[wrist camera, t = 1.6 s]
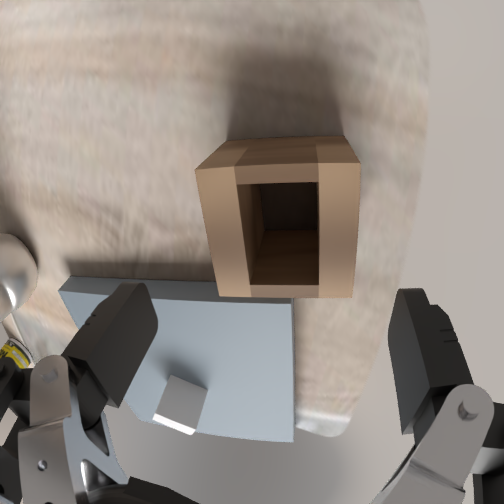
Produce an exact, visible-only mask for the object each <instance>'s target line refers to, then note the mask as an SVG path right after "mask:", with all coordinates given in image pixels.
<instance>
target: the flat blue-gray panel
mask: <svg viewBox="0 0 504 504" xmlns="http://www.w3.org/2000/svg"><path fill="white" fill-rule="evenodd" d="M122 282H140V283H144V284H145V285H146V286H147V289H148V292H149V294H150V297H151V300H152V303H153V306H154V309H155V312H156V314H157V318H158V330H157V334H156V336H155V338H154V340H153V342H152V343H151V345H150V347H149V349H148V351H147V353H146V355H145V357H144V359H143V361H142V363H141V365H140V367H139V369H138V371H137V372H136V374H135V376H134V378H133V380H132V382H131V384H130V386H129V388H128V390H127V392H126V394H125V396H124V400H125V401H126V402H127V404H128V405H129V406H130V407H131V409H132V410H133V412H134V413H135V414H136V415H137V417H138V418H139V419H140V420H142V421H146V422H150V423H155V424H159V425H163V426H168V427H171V428H174V429H176V430H179V431H182V432H184V433H187V434H190V435H192V434H193V432H199V433H206V434H212V435H219V436H227V437H234V438H243V439H253V440H264V441H279V442H293V441H294V431H295V336H294V298H268V297H226V296H219V292H218V287H217V282H203V281H168V280H140V279H117V278H96V277H77V276H70V278H69V279H68V280H67V281H66V282H65V283H64V284H63V285H62V286H61V288H60V289H59V290H58V292H59V294H60V296H61V298H62V300H63V302H64V304H65V306H66V307H67V309H68V311H69V313H70V315H71V317H72V319H73V320H74V322H75V324H76V326H77V327H78V329H80V328H81V327H82V325H84V324H85V323H84V322H85V321H86V320H87V318H88V317H89V316H91V313H92V312H93V310H94V309H95V308H96V307H97V305H98V304H99V303H100V302H102V301H103V300H104V299H106V298H107V297H108V296H110V295H112V294H113V292H114V291H115V290H116V288H117V287H118V286H119V285H120V284H121V283H122Z"/></svg>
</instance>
